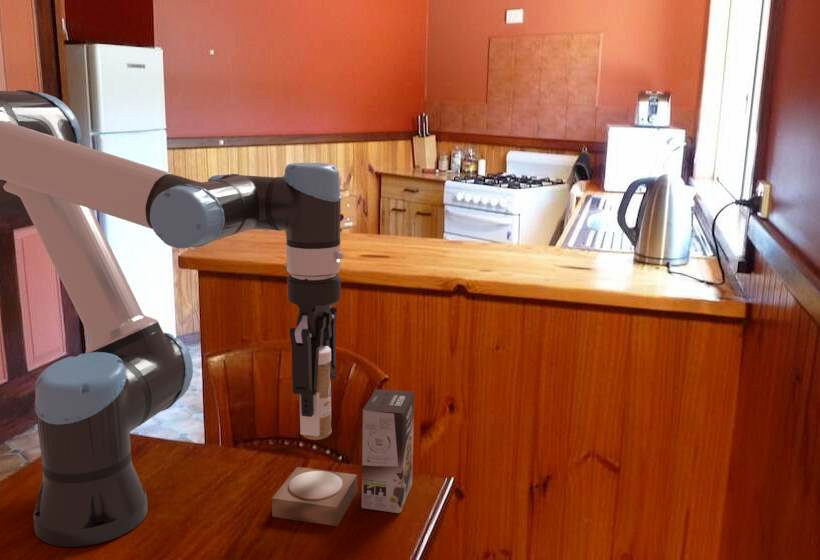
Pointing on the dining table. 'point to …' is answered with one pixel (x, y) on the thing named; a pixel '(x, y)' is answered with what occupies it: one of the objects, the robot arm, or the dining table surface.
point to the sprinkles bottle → (324, 393)
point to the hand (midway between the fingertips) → (316, 426)
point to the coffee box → (387, 450)
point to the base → (315, 496)
